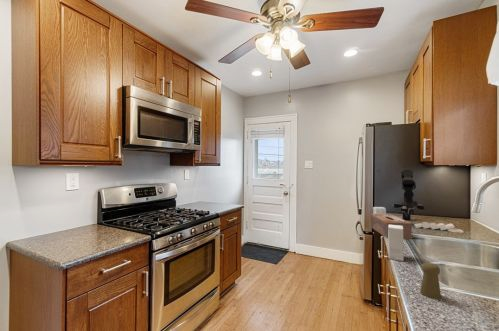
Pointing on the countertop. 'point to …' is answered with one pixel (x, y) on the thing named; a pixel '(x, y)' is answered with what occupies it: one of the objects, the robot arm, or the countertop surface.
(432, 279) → the cork
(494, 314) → the countertop surface
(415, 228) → the rubber mat
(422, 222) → the white angular block
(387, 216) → the tissue box cover
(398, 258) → the skincare box
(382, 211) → the small box
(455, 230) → the domino
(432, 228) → the domino
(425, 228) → the domino
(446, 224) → the domino
